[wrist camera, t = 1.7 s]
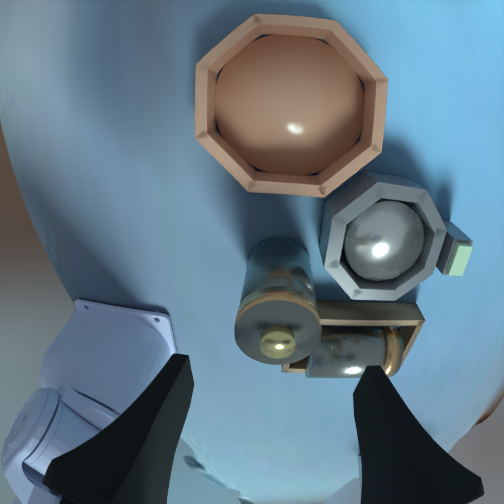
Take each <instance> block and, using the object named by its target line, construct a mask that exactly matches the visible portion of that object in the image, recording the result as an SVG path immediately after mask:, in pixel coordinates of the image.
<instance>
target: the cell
mask: <svg viewBox="0 0 504 504" xmlns="http://www.w3.org/2000/svg"><path fill="white" fill-rule="evenodd" d="M234 331H235V340H236V343H237V345H238V347H239V348H240V349H241V351H242V352H243V353H245V354H246V355H247V356H249V357H250V358H252V359H254V360H256V361H259V362H262V363H267V364H274V365H281V364H289V363H294V362H297V361H299V360H302V359H304V358H305V357H307V356H308V355H310V354H311V353H312V352H313V351H314V350H315V349H316V348H317V346H318V344H319V342H320V338H321V322H320V315H319V310H318V307H317V302H316V295H315V289H314V283H313V277H312V271H311V265H310V259H309V255H308V253H307V251H306V249H305V248H304V247H303V246H302V245H301V244H300V243H298V242H297V241H295V240H293V239H291V238H287V237H271V238H268V239H265V240H263V241H261V242H260V243H258V244H257V245H256V246H255V247H254V248H253V250H252V251H251V253H250V255H249V259H248V265H247V270H246V275H245V280H244V285H243V291H242V296H241V301H240V306H239V308H238V312H237V317H236V322H235V328H234Z"/></svg>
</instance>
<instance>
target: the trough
mask: <svg viewBox="0 0 504 504" xmlns="http://www.w3.org/2000/svg"><path fill="white" fill-rule="evenodd" d="M316 302H317V307H318V310H319V315H320V322H321V325H346V326H401V328H400V331H401V334H402V338H403V358H402V362H401V365H402V364H403V362H404V360H405V358H406V356H407V355H408V353H409V351H410V349H411V347H412V345H413V343H414V341H415V339H416V337H417V335H418V333H419V331H420V329H421V327H422V325H423V323H424V321H425V319H424V317H423V315H422V313H421V311H420V309H419V308H418V306H417V304H416V303H375V302H344V301H321V300H316ZM401 365H400V367H401ZM399 369H400V368H399ZM398 371H399V370H398ZM282 372H291V373H305V358H304V359H302V360H299V361H297V362H294V363H289V364H282Z"/></svg>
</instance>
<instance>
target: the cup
mask: <svg viewBox="0 0 504 504" xmlns="http://www.w3.org/2000/svg"><path fill="white" fill-rule="evenodd" d="M261 35H270V36H265V37H262V38H259V37H260V36H261ZM257 38H259V39H257ZM256 39H257V40H256ZM317 39H321V40H324V41H325V42H326V43H327V44H326V43H324V42H322V41H320V40H317ZM223 67H224V68H223ZM222 68H223V69H222ZM221 69H222V71H221V73H220V75H219V78H218V80H217V73H218V72H219V71H220V70H221ZM359 79H360V80H361V82H362V83H363V84H364V90H363V88H362V85H361V82H360V80H359ZM387 88H388V79H387V78H386V76H385V75H384V74H383V73H382V71H381V70H380V69H379V68H378V66H377V65H376V64H375V63H374V62H373V60H372V59H371V58H370V57H369V56H368V54H367V53H366V52H365V51H364V50H363V49H362V48H361V47H360V45H359V44H358V43H357V42H356V41H355V40H354V39H353V38H352V37H351V36H350V35H349V34H348V33H347V31H346V30H345V29H344V28H343V27H342V26H341V25H340V24H339V23H338V22H337V21H335V20H329V19H321V18H313V17H304V16H293V15H276V14H254V15H252V16H251V17H250V18H248V19H247V20H246V21H245V22H243V23H242V24H241V25H240V26H238V27H237V28H236V29H235V30H233V31H232V32H231V33H230V34H229V35H227V36H226V37H225V38H224V39H223V40H222V41H221V42H219V43H218V44H217V45H216V46H215V47H214V48H213V49H212V50H210V51H209V52H208V53H207V54H206V55H205V56H204V57H203V58H202V59H201V60H200V61H199V62H198V63H197V64H196V74H195V139H196V140H197V141H198V142H199V143H200V144H201V145H202V146H203V147H204V148H205V149H206V150H207V151H208V152H209V153H210V154H211V155H212V156H213V157H214V158H215V159H216V160H217V161H218V162H219V163H220V164H221V165H222V166H223V167H224V168H225V169H226V170H227V171H228V172H229V173H230V174H231V175H232V176H233V177H234V178H235V179H236V180H237V181H238V182H239V183H240V184H241V185H242V186H243V187H244V188H245V189H246V190H247V191H248V192H257V193H274V194H288V195H301V196H313V197H326V196H327V195H328V194H329V193H331V192H332V191H333V190H334V189H336V188H337V187H338V186H340V185H341V184H342V183H343V182H345V181H346V180H347V179H348V178H350V177H351V176H352V175H354V174H355V173H356V172H357V171H359V170H360V169H361V168H362V167H364V166H365V165H366V164H368V163H369V162H370V161H371V160H373V159H374V158H375V157H376V156H378V155H379V154H380V153H381V152H382V145H383V136H384V127H385V116H386V104H387ZM216 122H217V125H218V128H219V130H220V132H221V134H222V135H221V134H220V133H219V132H218V131H217V130H216ZM359 134H360V140H359V141H358V142H357V143H355V142H356V140H357V139H358V137H359ZM251 165H252V166H254V167H256V168H258V169H260V170H263V171H265V172H263V171H256V170H255V169H254V168H253V167H252V166H251ZM321 170H322V171H321ZM319 171H320V172H319ZM316 172H319V173H318V174H317V175H308V174H312V173H316Z"/></svg>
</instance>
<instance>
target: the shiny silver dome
mask: <svg viewBox="0 0 504 504" xmlns="http://www.w3.org/2000/svg"><path fill="white" fill-rule="evenodd" d="M423 243H424V229H423V225H422V222H421V220H420V218H419V216H418V215H417V214H416V213H415V212H414V211H413V210H412V209H411V208H410V207H409V206H408V205H407V204H405V203H404V202H402V201H400V200H393V199H386V198H380V199H379V200H378V201H376V202H375V203H374V204H373V205H371V206H370V207H369V208H367V209H366V210H365V211H363V212H362V213H361V214H360V215H358V216H357V217H356V218H354V219H353V220H352V221H350V222H349V223H348V224H347V225H346V230H345V235H344V241H343V248H344V252H345V255H346V257H347V260H348V262H349V264H350V266H351V267H352V269H353V270H354V271H355V272H356V273H357V274H358V275H360V276H362V277H363V278H366V279H369V280H374V281H383V280H389V279H392V278H395V277H397V276H399V275H401V274H402V273H404V272H405V271H407V270H408V269H409V268H410V267H411V266H412V265H413V264H414V263H415V261H416V260H417V258H418V257H419V255H420V253H421V250H422V247H423Z"/></svg>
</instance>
